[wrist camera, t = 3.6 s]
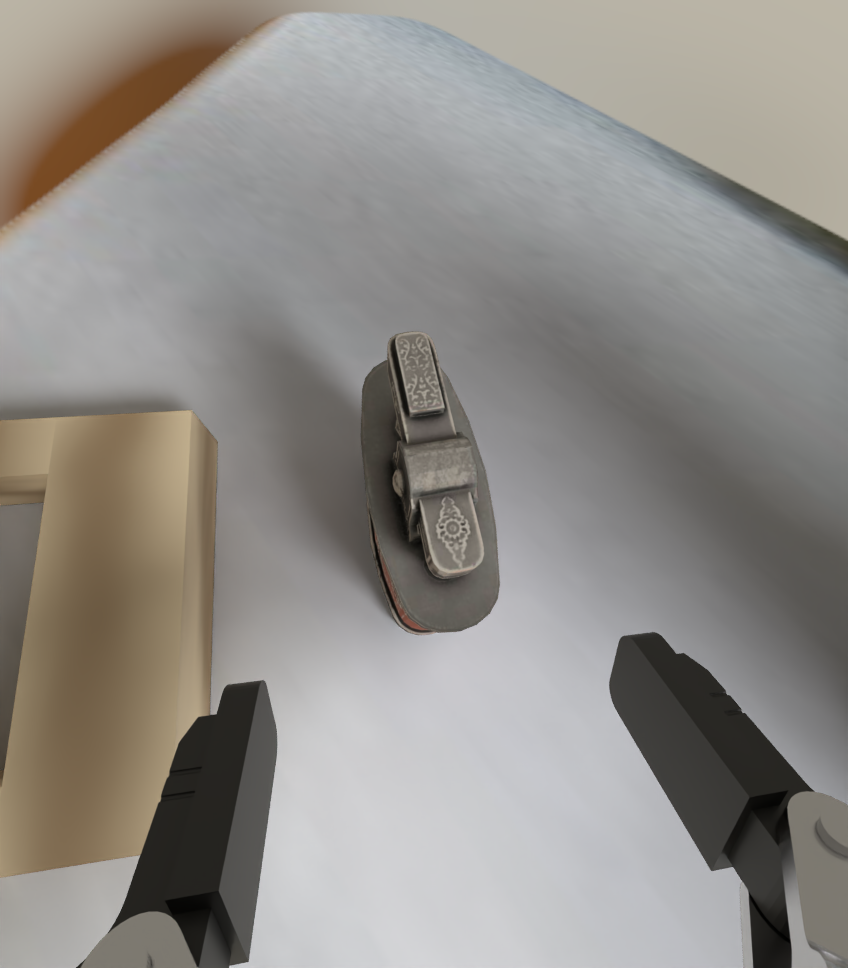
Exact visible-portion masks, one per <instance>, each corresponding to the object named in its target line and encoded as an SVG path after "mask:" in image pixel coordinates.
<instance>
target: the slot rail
mask: <svg viewBox="0 0 848 968" xmlns="http://www.w3.org/2000/svg"><path fill="white" fill-rule="evenodd" d="M217 449H218V442H217V441H216V439H215V438H214V437H213V436H212V434H211V433H210V432H209V431H208V430H207V428H206V427H205V426H204V425H203V423H202V422H201V421H200V420H199V419H198V417H197V416H196V415H195V414H194V412H193V411H192V410H185V411H166V412H147V413H129V414H110V415H91V416H73V417H54V418H35V419H17V420H0V506H1V505H15V504H28V503H42V502H44V506H43V512H42V519H41V526H40V533H39V539H38V546H37V553H36V559H35V566H34V573H33V580H32V586H31V593H30V600H29V607H28V613H27V620H26V627H25V634H24V640H23V647H22V654H21V661H20V667H19V674H18V681H17V688H16V694H15V701H14V708H13V715H12V721H11V728H10V735H9V742H8V748H7V755H6V762H5V769H4V770H1V771H0V878H1V877H7V876H14V875H20V874H26V873H32V872H38V871H44V870H50V869H56V868H63V867H69V866H75V865H81V864H87V863H93V862H99V861H106V860H112V859H118V858H124V857H130V856H136V855H141V852H142V849H143V846H144V844H145V841H146V838H147V835H148V832H149V829H150V826H151V823H152V820H153V817H154V814H155V811H156V808H157V805H158V802H160V801H161V794H162V791H163V788H164V785H165V782H166V779H167V777H169V770H170V767H171V764H172V761H173V758H174V755H175V753H176V750H177V747H178V744H179V742H180V740H181V739H182V738H183V736H184V735H185V734H186V732H187V731H188V730H189V728H190V727H191V726H192V724H193V723H194V722H195V720H196V719H197V718H198V717H201V716H208V715H210V689H211V655H212V620H213V586H214V552H215V517H216V483H217Z"/></svg>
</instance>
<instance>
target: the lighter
mask: <svg viewBox="0 0 848 968" xmlns="http://www.w3.org/2000/svg"><path fill="white" fill-rule="evenodd" d="M361 445H362V455H363V465H364V475H365V486H366V496H367V512H368V522H369V532H370V542H371V548H372V552H373V556H374V560H375V564H376V568H377V572H378V576H379V580H380V583H381V586H382V589H383V591H384V594H385V597H386V599H387V602H388V605H389V607H390V610H391V613H392V615H393V618H394V619H395V621H396V622H397V624H398V626H400V627H401V628H402V629H404V630H405V631H406V632H409V633H412V634H416V635H429V634H433V633H436V632H438V633H441V632H457V631H462V630H464V629H467V628H469V627H472V626H474V625H477V624H478V623H479V622H480V621H481V620H483V619H484V618H485V617H486V616H487V615H488V614H490V612H491V610H492V608H493V607H494V605H495V603H496V601H497V599H498V593H499V586H500V581H499V566H498V550H497V534H496V524H495V519H494V513H493V508H492V502H491V497H490V491H489V486H488V481H487V475H486V470H485V467H484V464H483V462H482V459H481V456H480V453H479V450H478V447H477V444H476V441H475V438H474V435H473V432H472V429H471V426H470V423H469V420H468V418H467V416H466V414H465V412H464V410H463V408H462V406H461V404H460V401H459V399H458V397H457V395H456V393H455V391H454V389H453V387H452V385H451V383H450V380H449V378H448V377H447V375H446V374H445V373H444V372H443V370H442V369H441V368H440V366H439V361H438V357H437V353H436V349H435V346H434V343H433V341H432V339H431V338H430V337H429V336H428V335H427V334H425V333H422V332H405V333H400V334H396V335H394V336H393V337H392V338H390V340H389V343H388V357H387V360H385V361H384V362H382V363H380V364H379V365H377V366H376V367H374V368H373V369H372V370H371V372H370V373H369V374H368V375H367V376H366V378H365V381H364V385H363V389H362V417H361Z"/></svg>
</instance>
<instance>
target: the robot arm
mask: <svg viewBox="0 0 848 968" xmlns="http://www.w3.org/2000/svg"><path fill="white" fill-rule="evenodd" d="M609 687H610V694H611V698H612V701H613V704H614V707H615V709H616V710H617V712H618V714H619V716H620V717H621V719H622V721H623V722H624V724H625V726H626V727H627V729H628V731H629V733H630V734H631V736H632V738H633V739H634V741H635V743H636V744H637V746H638V748H639V749H640V751H641V753H642V755H643V756H644V758H645V760H646V761H647V763H648V765H649V766H650V768H651V770H652V771H653V773H654V775H655V777H656V778H657V780H658V782H659V783H660V785H661V787H662V788H663V790H664V792H665V793H666V795H667V797H668V799H669V800H670V802H671V804H672V805H673V807H674V809H675V810H676V812H677V814H678V815H679V817H680V819H681V820H682V822H683V824H684V826H685V827H686V829H687V831H688V832H689V834H690V836H691V837H692V839H693V841H694V842H695V844H696V846H697V848H698V849H699V851H700V853H701V854H702V856H703V858H704V859H705V861H706V863H707V864H708V866H709V868H710V870H711V871H714V870H719V869H724V868H729V867H734V869H735V870H736V872H737V874H738V875H739V877H740V878H741V880H742V882H741V886H740V911H741V931H742V951H743V968H848V805H846V804H845V803H843V802H841V801H839V800H837V799H835V798H833V797H831V796H828V795H825V794H822V793H817V792H814V791H813V790H812V789H811V788H810V787H809V786H808V785H807V784H806V783H805V782H804V781H803V779H802V778H801V777H800V776H799V775H798V774H797V772H796V771H795V770H794V769H793V768H792V767H791V766H790V764H789V763H788V762H787V761H786V760H785V759H784V758H783V756H782V755H781V754H780V753H779V752H778V751H777V749H776V748H775V747H774V746H773V745H772V744H771V743H770V741H769V740H768V739H767V738H766V737H765V736H764V734H763V733H762V732H761V731H760V730H759V729H758V728H757V726H756V725H755V724H754V723H753V722H752V721H751V719H750V718H749V717H748V716H747V715H746V714H745V713H742V711H741V708H740V707H739V706H738V704H737V703H736V702H735V701H734V700H733V699H732V698H731V696H730V695H727V694H726V691H725V689H724V688H723V687H722V686H721V685H720V684H719V683H718V681H717V680H716V679H715V678H714V677H713V676H712V674H711V673H710V672H709V671H708V670H707V669H705V668H704V667H703V666H701V665H700V664H698V663H697V662H696V661H694V660H693V659H691V658H690V657H689V656H687V655H686V654H684V653H681V654H676V653H675V652H674V650H673V649H672V648H671V647H670V646H669V644H668V643H667V642H666V641H665V639H664V638H663V637H662V636H661V635H659V634H658V633H655V632H651V633H643V634H635V635H628V636H623V637H621V639H620V641H619V644H618V648H617V652H616V656H615V661H614V665H613V669H612V673H611V677H610V682H609ZM276 757H277V730H276V724H275V720H274V716H273V711H272V707H271V703H270V698H269V694H268V690H267V686H266V683H265V681H264V680H262V681H254V682H246V683H238V684H230V685H227V686H226V687H225V688H224V691H223V693H222V697H221V700H220V704H219V708H218V711H217V714H216V715H208V716H201V717H198V718H197V719H196V720H195V722H194V723H193V724H192V726H191V727H190V728H189V730H188V731H187V732H186V734H185V735H184V736H183V738H182V739H181V740H180V742H179V744H178V747H177V750H176V753H175V755H174V758H173V761H172V764H171V767H170V770H169V777H167V779H166V782H165V785H164V788H163V791H162V794H161V801H160V802H158V805H157V808H156V811H155V814H154V817H153V820H152V823H151V826H150V829H149V832H148V835H147V838H146V841H145V844H144V846H143V849H142V852H141V855H140V858H139V861H138V864H137V867H136V870H135V873H134V876H133V879H132V882H131V885H130V888H129V890H128V893H127V896H126V899H125V902H124V904H123V907H122V909H121V911H120V913H119V915H118V917H117V919H116V921H115V923H114V924H113V926H112V927H111V929H110V931H109V932H108V934H107V935H106V936H105V937H104V938H103V939H102V940H101V941H100V942H99V943H98V944H97V945H96V946H95V948H94V949H93V950H92V951H91V953H90V954H89V955H88V957H87V958H86V959H85V960H84V961H83V962H82V963H81V964H80V965H79V966H78V967H76V968H229V966H230V965H235V964H240V963H245V962H248V961H249V954H250V947H251V940H252V932H253V925H254V918H255V910H256V903H257V896H258V889H259V881H260V874H261V867H262V859H263V852H264V845H265V838H266V830H267V823H268V816H269V808H270V801H271V794H272V787H273V779H274V772H275V765H276Z"/></svg>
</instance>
